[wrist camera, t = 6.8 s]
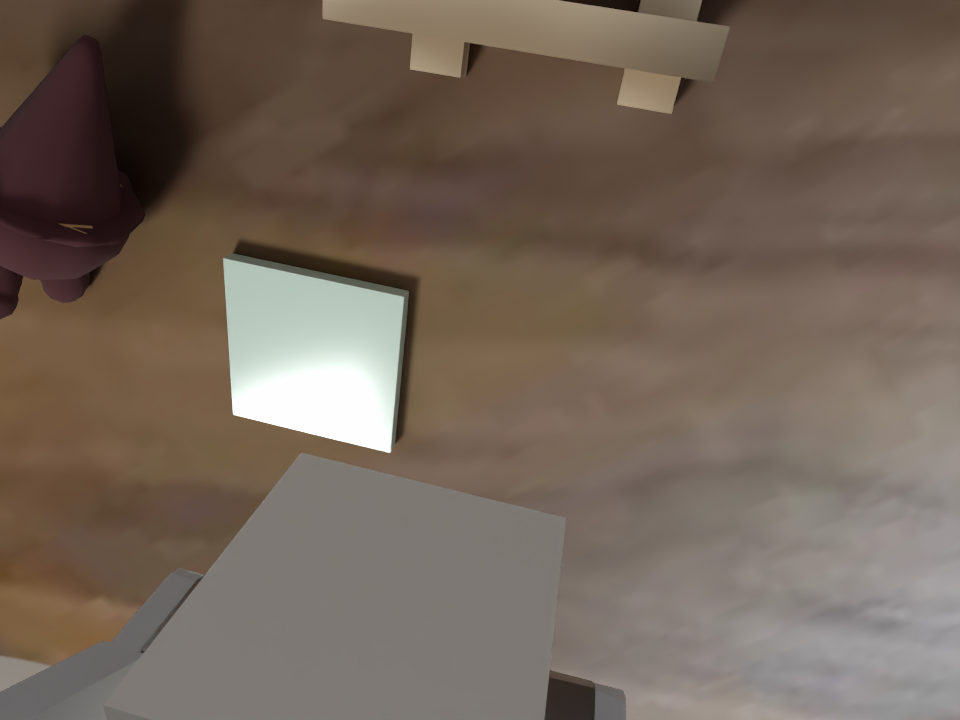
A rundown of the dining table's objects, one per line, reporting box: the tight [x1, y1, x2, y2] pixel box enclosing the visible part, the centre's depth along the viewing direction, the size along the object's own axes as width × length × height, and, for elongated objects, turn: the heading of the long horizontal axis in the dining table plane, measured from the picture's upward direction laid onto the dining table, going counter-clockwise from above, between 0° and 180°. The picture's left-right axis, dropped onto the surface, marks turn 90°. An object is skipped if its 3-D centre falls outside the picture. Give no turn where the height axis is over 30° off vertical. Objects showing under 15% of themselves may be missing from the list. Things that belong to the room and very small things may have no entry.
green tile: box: [223, 253, 409, 453], centre depth 31 cm, size 9×9×1 cm
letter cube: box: [103, 453, 566, 720], centre depth 10 cm, size 5×5×5 cm
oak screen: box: [323, 0, 730, 114], centre depth 19 cm, size 4×10×9 cm, turn 82°
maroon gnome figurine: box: [0, 35, 145, 319], centre depth 27 cm, size 7×7×15 cm
